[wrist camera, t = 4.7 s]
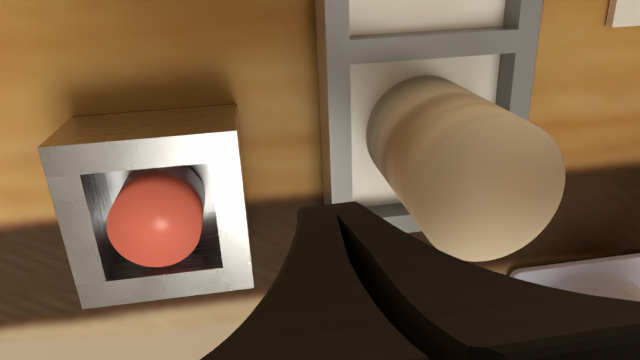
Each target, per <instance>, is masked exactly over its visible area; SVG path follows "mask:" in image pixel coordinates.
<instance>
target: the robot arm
mask: <svg viewBox="0 0 640 360" xmlns="http://www.w3.org/2000/svg"><path fill="white" fill-rule="evenodd" d="M297 219H298V223H297V228H296V233H295V236H294V239H293V242H292V245H291V248H290V250H289V253H288V255H287V257H286V259H285V261H284V263H283V266H282V268H281V270H280V272H279V274H278V275H277V277H276V279H275V281H274V282H273V284H272V286H271V287H270V289H269V290H268V292H267V293H266V295H265V296H264V297H263V299H262V300H261V301H260V303H259V304H258V305H257V307H256V308H255V309H254V310H253V312H252V313H251V314H250V315H249V316H248V318H247V319H246V320H245V321H244V322H243V323H242V324H241V325H240V326H239V327H238V328H237V329H236V330H235V331H234V332H233V333H232V334H231V335H230V336H229V337H228V338H227V339H226V340H225V341H223V342H222V343H221V344H220V345H219V346H218V347H216V348H215V349H214V350H213V351H211V352H210V353H209V354H207V355H206V356H205V357H203V358H202V359H200V360H640V253H637V254H629V255H621V256H613V257H605V258H598V259H590V260H582V261H574V262H566V263H558V264H551V265H543V266H535V267H527V268H519V269H516V270H514V271H513V272H512V273H511V274H510V276H507V275H503V274H500V273H497V272H493V271H490V270H487V269H484V268H482V267H479V266H476V265H473V264H471V263H468V262H466V261H463V260H461V259H458V258H456V257H453V256H451V255H449V254H447V253H444V252H442V251H440V250H438V249H436V248H434V247H432V246H430V245H428V244H426V243H424V242H422V241H420V240H418V239H416V238H415V237H413V236H411V235H409V234H407V233H406V232H404V231H402V230H401V229H399V228H397V227H396V226H394V225H392V224H391V223H389V222H388V221H386V220H384V219H383V218H381V217H380V216H378V215H377V214H375V213H374V212H372V211H370V210H369V209H367V208H366V207H364V206H363V205H361V204H359V203H358V202H356V201H353V202H344V203H336V204H327V205H319V206H310V207H302V208H301V209H300V210H299V211H298V212H297Z"/></svg>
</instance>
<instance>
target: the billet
mask: <svg viewBox="0 0 640 360" xmlns="http://www.w3.org/2000/svg"><path fill="white" fill-rule="evenodd" d="M366 144H367V149H368V152H369V155H370V157H371V159H372V161H373V163H374V164H375V166H376V167H377V168H378V170H379V171H380V173H381V174H382V175H383V177H384V178H385V180H386V181H387V182H388V184H389V185H390V187H391V188H392V189H393V191H394V192H395V194H396V195H397V196H398V198H399V199H400V201H401V202H402V204H403V205H404V206H405V208H406V209H407V211H408V212H409V213H410V215H411V216H412V218H413V219H414V220H415V222H416V223H417V225H418V226H419V227H420V229H421V230H422V232H423V233H424V234H425V236H426V237H427V238H428V240H429V241H430V242H431V243H432V244H433V245H434V246H435V247H436V248H437V249H438V250H440V251H442V252H444V253H447V254H449V255H451V256H453V257H456V258H458V259H461V260H464V261H475V262H478V261H488V260H494V259H497V258H501V257H504V256H506V255H509V254H511V253H513V252H515V251H517V250H519V249H521V248H522V247H524V246H525V245H527V244H528V243H529V242H531V241H532V240H533V239H534V238H535V237H537V236H538V235H539V234H540V232H541V231H542V230H543V229H544V228H545V227H546V226H547V224H548V223H549V222H550V220H551V219H552V217H553V216H554V214H555V212H556V210H557V208H558V206H559V204H560V201H561V198H562V196H563V191H564V187H565V165H564V159H563V157H562V154H561V151H560V149H559V147H558V145H557V143H556V142H555V141H554V140H553V138H552V137H551V136H550V135H549V134H548V133H547V132H546V131H545V130H543V129H542V128H540V127H539V126H537V125H535V124H533V123H531V122H529V121H527V120H525V119H523V118H521V117H519V116H517V115H516V114H514V113H512V112H510V111H508V110H506V109H504V108H502V107H500V106H498V105H496V104H494V103H492V102H490V101H488V100H486V99H484V98H482V97H480V96H479V95H477V94H475V93H473V92H471V91H469V90H467V89H465V88H463V87H461V86H459V85H457V84H455V83H453V82H451V81H449V80H447V79H445V78H441V77H438V76H431V75H425V76H416V77H412V78H409V79H406V80H404V81H401V82H400V83H398V84H396V85H394V86H393V87H392V88H390V89H389V90H388V91H387V92H386V93H385V94H384V95H383V96H382V97H381V98H380V99H379V101H378V102H377V103H376V105H375V107H374V108H373V110H372V112H371V114H370V117H369V120H368V124H367V129H366Z"/></svg>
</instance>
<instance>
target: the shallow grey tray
mask: <svg viewBox="0 0 640 360" xmlns="http://www.w3.org/2000/svg"><path fill="white" fill-rule="evenodd" d="M542 6H543V0H315V14H316V37H317V60H318V84H319V107H320V130H321V154H322V177H323V200H324V205H327V204H336V203H344V202H353V201H356V202H358V203H359V204H361V205H363V206H364V207H366V208H367V209H369V210H370V211H372V212H374V213H375V214H377V215H378V216H380V217H381V218H383V219H384V220H386V221H388V222H389V223H391V224H392V225H394V226H396V227H397V228H399V229H401V230H402V231H404V232H406V233H411V232H419V231H422V230H421V229H420V227H419V226H418V225H417V223H416V222H415V220H414V219H413V218H412V216H411V215H410V213H409V212H408V211H407V209H406V208H405V206H404V205H403V204H402V202H401V201H400V199H399V198H398V196H397V195H396V194H395V192H394V191H393V189H392V188H391V187H390V185H389V184H388V182H387V181H386V180H385V178H384V177H383V175H382V174H381V173H380V171H379V170H378V168H377V167H376V166H375V164H374V163H373V161H372V159H371V157H370V155H369V152H368V149H367V144H366V129H367V124H368V120H369V117H370V114H371V112H372V110H373V108H374V107H375V105H376V103H377V102H378V101H379V99H380V98H381V97H382V96H383V95H384V94H385V93H386V92H387V91H388V90H389V89H390V88H392V87H393V86H394V85H396V84H398V83H400V82H401V81H404V80H406V79H409V78H412V77H416V76H425V75H431V76H438V77H441V78H445V79H447V80H449V81H451V82H453V83H455V84H457V85H459V86H461V87H463V88H465V89H467V90H469V91H471V92H473V93H475V94H477V95H479V96H480V97H482V98H484V99H486V100H488V101H490V102H492V103H494V104H496V105H498V106H500V107H502V108H504V109H506V110H508V111H510V112H512V113H514V114H516V115H517V116H519V117H521V118H523V119H525V120H527V121H528V118H529V110H530V102H531V94H532V86H533V78H534V70H535V62H536V54H537V46H538V38H539V30H540V22H541V14H542Z"/></svg>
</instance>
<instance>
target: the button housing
mask: <svg viewBox="0 0 640 360" xmlns="http://www.w3.org/2000/svg"><path fill="white" fill-rule="evenodd" d="M38 151H39V154H40V158H41V162H42V165H43V169H44V172H45V176H46V180H47V183H48V187H49V190H50V194H51V198H52V201H53V205H54V208H55V212H56V216H57V219H58V223H59V226H60V230H61V234H62V237H63V241H64V244H65V248H66V252H67V255H68V259H69V262H70V266H71V270H72V273H73V277H74V280H75V284H76V288H77V291H78V295H79V298H80V302H81V306H82V309H87V308H95V307H103V306H111V305H120V304H128V303H136V302H144V301H152V300H160V299H168V298H176V297H184V296H192V295H200V294H208V293H216V292H224V291H233V290H241V289H249V288H254V278H253V260H252V243H251V232H250V223H249V214H248V205H247V196H246V187H245V178H244V168H243V159H242V150H241V141H240V132H239V123H238V113H237V104H231V105H218V106H205V107H192V108H179V109H167V110H154V111H141V112H128V113H115V114H103V115H90V116H77V117H71V118H70V119H69V120H68V121H67V122H66V123H65V124H63V125H62V126H61V127H60V128H59V129H58V130H57V131H56V132H55V133H53V134H52V135H51V136H50V137H49V138H48V139H47V140H46V141H45V142H43V143H42V144H41V145H40V146H39V147H38ZM181 165H185V166H187V167H188V168H190V169H191V170H192V171H193V172H194V173H195V174H196V175H197V176H198V177H199V179H200V180H201V182H202V184H203V187H204V190H205V206H204V214H203V221H202V229H201V235H200V239H199V242H198V244H197V246H196V247H195V249H194V250H193V251H192V253H191V254H190V255H189V256H187V257H186V258H185V259H183V260H181V261H180V262H178V263H175V264H173V265H169V266H164V267H147V266H142V265H138V264H136V263H133V262H131V261H129V260H127V259H126V258H125V257H123V256H122V255H121V254H120V253H118V251H117V250H116V249H115V248H114V247H113V245H112V244H111V242H110V240H109V237H108V234H107V228H106V222H107V216H108V213H109V211H110V209H111V207H112V205H113V203H114V201H115V199H116V197H117V196H118V194H119V192H120V190H121V188H122V186H123V184H124V182H125V180H126V178H127V177H128V175H129V174H130V173H131V172H132V171H133V170H138V169H149V168H159V167H170V166H181Z"/></svg>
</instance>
